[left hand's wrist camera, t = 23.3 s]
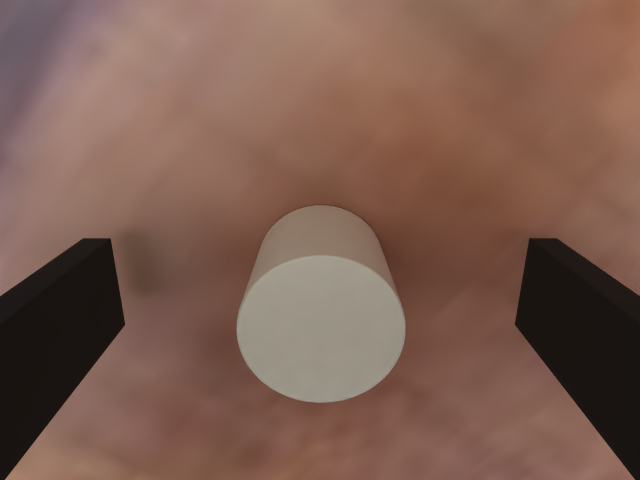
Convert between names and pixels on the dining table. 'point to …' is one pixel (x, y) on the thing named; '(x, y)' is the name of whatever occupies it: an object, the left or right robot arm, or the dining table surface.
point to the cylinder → (321, 308)
